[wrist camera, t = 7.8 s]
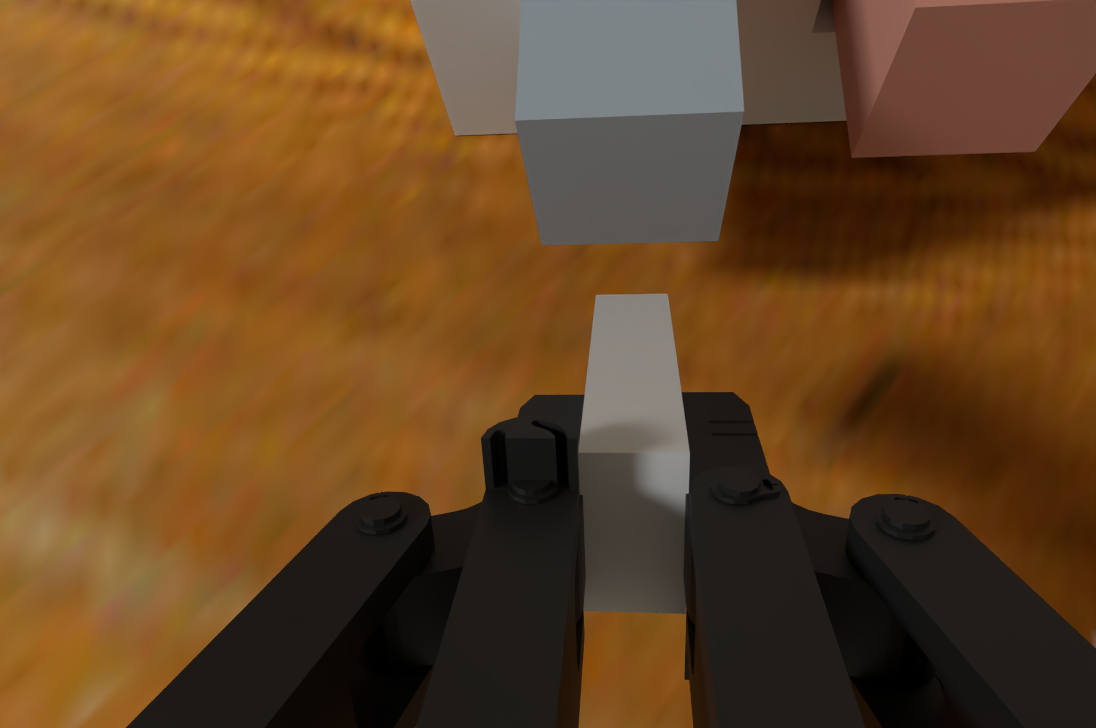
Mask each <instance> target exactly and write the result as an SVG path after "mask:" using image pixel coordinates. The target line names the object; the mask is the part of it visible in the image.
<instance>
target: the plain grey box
mask: <svg viewBox="0 0 1096 728" xmlns="http://www.w3.org/2000/svg"><path fill="white" fill-rule="evenodd" d="M410 1H411V4H412V8H413V11H414V14H415V17H416V20H417V23H418V26H419V29H420V32H421V35H422V38H423V41H424V44H425V47H426V50H427V53H428V56H429V59H430V62H431V65H432V68H433V71H434V74H435V77H436V80H437V83H438V86H439V89H440V92H441V95H442V98H443V101H444V104H445V107H446V110H447V113H448V116H449V119H450V122H451V125H452V128H453V131H454V134H455V136H459V135H485V134H511V133H517V128H516V124H515V109H516V91H517V73H518V55H519V37H520V19H521V0H410ZM736 3H737V17H738V31H739V45H740V59H741V73H742V87H743V101H744V115H743V120H742V125H747V124H773V123H799V122H826V121H847V120H846V112H845V104H844V96H843V88H842V80H841V73H840V65H839V57H838V49H837V41H836V33H835V26H834V18H833V10H832V2H831V0H736Z"/></svg>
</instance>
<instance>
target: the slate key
mask: <svg viewBox="0 0 1096 728" xmlns="http://www.w3.org/2000/svg"><path fill="white" fill-rule="evenodd" d="M743 115H744V101H743V87H742V73H741V59H740V45H739V31H738V17H737V3H736V0H521V19H520V37H519V55H518V73H517V91H516V109H515V124H516V128H517V133H518V138H519V142H520V147H521V152H522V156H523V161H524V165H525V170H526V175H527V179H528V184H529V189H530V193H531V198H532V203H533V207H534V212H535V217H536V221H537V226H538V231H539V235H540V240H541V245H573V244H616V243H660V242H703V241H719V236H720V231H721V226H722V221H723V216H724V211H725V206H726V201H727V196H728V191H729V186H730V180H731V175H732V170H733V165H734V160H735V155H736V150H737V145H738V140H739V135H740V130H741V125H742V120H743Z"/></svg>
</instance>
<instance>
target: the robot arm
mask: <svg viewBox="0 0 1096 728" xmlns="http://www.w3.org/2000/svg"><path fill="white" fill-rule="evenodd" d="M481 443H482V454H483V464H484V475H485V485H486V491H485V494H484V497H483V501H482V502H480V503H479V504H476V505H474V506H472V507H469V508H467V509H463V510H459V511H455V512H450V513H445V514H440V515H434V516H431V513H430V509H429V504H427V503H426V502H425V501H424V500H423V499H422V498H420V497H419V496H416V495H412V494H409V493H406V492H381V493H375V494H371V495H368V496H366V497H363V498H361V499H358V500H356V501H353V502H352V503H350V504H349V505H348V506H346V507H345V508H344V509H342V510H341V511H340V512H339V513H338V514H337V515H336V516H335V517H334V518H333V519H332V520H331V521H330V522H329V523H328V524H327V525H326V526H325V527H324V528H323V529H322V530H321V531H320V532H319V533H318V534H317V535H316V536H315V537H314V538H313V539H312V540H311V541H310V542H309V543H308V544H307V545H306V546H305V547H304V548H303V549H302V550H301V551H300V552H299V553H298V554H297V555H296V556H295V557H294V558H293V559H292V560H291V561H290V562H289V563H288V564H287V565H286V566H285V567H284V568H283V569H282V570H281V571H280V572H279V573H278V574H277V575H276V576H275V577H274V578H273V579H272V580H271V581H270V582H269V583H268V584H267V586H266V587H265V588H264V589H263V590H262V591H261V592H260V593H259V594H258V595H257V596H256V597H255V598H254V599H253V600H252V601H251V602H250V603H249V604H248V605H247V606H246V607H245V608H244V609H243V610H242V611H241V612H240V613H239V614H238V615H237V616H236V617H235V618H234V619H233V620H232V621H231V622H230V623H229V624H228V625H227V626H226V627H225V628H224V629H223V630H222V631H221V632H220V633H219V634H218V635H217V636H216V637H215V638H214V639H213V640H212V641H211V642H210V643H209V644H208V645H207V646H206V647H205V648H204V649H203V650H202V651H201V652H200V653H199V654H198V655H197V656H196V657H195V658H194V659H193V660H192V661H191V662H190V663H189V664H188V665H187V666H186V667H185V668H184V669H183V670H182V672H181V673H180V674H179V675H178V676H177V677H176V678H175V679H174V680H173V681H172V682H171V683H170V684H169V685H168V686H167V687H166V688H165V689H164V690H163V691H162V692H161V693H160V694H159V695H158V696H157V697H156V698H155V699H154V700H153V701H152V702H151V703H150V704H149V705H148V706H147V707H146V708H145V709H144V710H143V711H142V712H141V713H140V714H139V715H138V716H137V717H136V718H135V719H134V720H133V721H132V722H131V723H130V724H129V725H128V726H127V727H126V728H415V727H416V728H578V726H579V711H580V696H581V680H582V665H583V650H584V612H583V607H584V611H604V612H643V613H682V614H685V611H686V608H687V611H686V646H685V680H689V682H690V693H691V704H692V716H693V727H694V728H1096V648H1095V647H1093V646H1092V645H1091V644H1090V643H1089V642H1088V641H1087V640H1086V639H1085V638H1084V637H1083V636H1082V635H1081V634H1080V633H1078V632H1077V631H1076V630H1075V629H1074V628H1073V627H1072V626H1071V625H1070V624H1069V623H1068V622H1067V621H1066V620H1064V619H1063V618H1062V617H1061V616H1060V615H1059V614H1058V613H1057V612H1056V611H1055V610H1054V609H1053V608H1052V607H1051V606H1049V605H1048V604H1047V603H1046V602H1045V601H1044V600H1043V599H1042V598H1041V597H1040V596H1039V595H1038V594H1037V593H1035V592H1034V591H1033V590H1032V589H1031V588H1030V587H1029V586H1028V585H1027V584H1026V583H1025V582H1024V581H1023V580H1022V579H1020V578H1019V577H1018V576H1017V575H1016V574H1015V573H1014V572H1013V571H1012V570H1011V569H1010V568H1009V567H1008V566H1006V565H1005V564H1004V563H1003V562H1002V561H1001V560H1000V559H999V558H998V557H997V556H996V555H995V554H994V553H993V552H991V551H990V550H989V549H988V548H987V547H986V546H985V545H984V544H983V543H982V542H981V541H980V540H979V539H977V538H976V537H975V536H974V535H973V534H972V533H971V532H970V531H969V530H968V529H967V528H966V527H965V526H963V525H962V524H961V523H960V522H959V521H958V520H957V519H956V518H955V517H954V516H952V515H951V514H950V513H948V512H947V511H945V510H944V509H942V508H941V507H939V506H938V505H935V504H932V503H930V502H927V501H925V500H922V499H920V498H917V497H913V496H905V495H901V494H877V495H874V496H870V497H866V498H863V499H861V500H860V501H858V502H857V503H856V504H855V505H853V506H852V508H851V513H850V517H849V519H846V518H841V517H836V516H831V515H826V514H822V513H818V512H814V511H811V510H807V509H805V508H803V507H800V506H798V505H796V504H794V503H792V502H791V499H790V496H789V493H788V491H787V489H786V488H785V486H784V485H783V484H782V482H781V481H780V480H778V479H776V478H775V477H773V476H772V475H770V473H769V469H768V466H767V463H766V460H765V456H764V453H763V450H762V447H761V443H760V440H759V437H758V436H757V430H756V427H755V424H754V420H753V417H752V414H751V411H750V407H749V405H748V404H746V403H745V402H744V401H743V400H742V399H740V398H739V397H738V396H737V395H736V394H734V393H733V392H681V386H680V379H679V372H678V364H677V357H676V350H675V343H674V336H673V329H672V321H671V314H670V307H669V300H668V294H618V295H596V300H595V308H594V317H593V326H592V335H591V344H590V352H589V361H588V370H587V379H586V387H585V395H534V396H533V397H532V398H531V399H530V400H529V401H528V402H526V403H525V404H524V405H523V406H522V407H521V408H520V411H519V414H518V417H517V418H513V419H509V420H506V421H503V422H499V423H498V424H496V425H494V426H493V427H491V428H489V429H488V430H487V431H486V432H485V434H484V435H483V436H482V438H481ZM416 725H417V726H416Z"/></svg>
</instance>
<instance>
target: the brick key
mask: <svg viewBox="0 0 1096 728" xmlns="http://www.w3.org/2000/svg"><path fill="white" fill-rule="evenodd" d="M831 2H832V10H833V18H834V26H835V33H836V41H837V49H838V57H839V65H840V73H841V80H842V88H843V96H844V104H845V112H846V120H847V128H848V135H849V143H850V151H851V158H861V157H891V156H921V155H951V154H981V153H1011V152H1035V151H1036V150H1037V149H1038V147H1039V146H1040V145H1041V144H1042V142H1043V141H1044V140H1045V138H1046V137H1047V136H1048V135H1049V133H1050V132H1051V131H1052V129H1053V128H1054V127H1055V126H1056V124H1057V123H1058V122H1059V120H1060V119H1061V118H1062V117H1063V115H1064V114H1065V113H1066V111H1067V110H1068V109H1069V108H1070V106H1071V105H1072V104H1073V102H1074V101H1075V100H1076V98H1077V97H1078V96H1079V95H1080V93H1081V92H1082V91H1083V89H1084V88H1085V87H1086V86H1087V84H1088V83H1089V82H1090V80H1091V79H1092V78H1093V77H1094V75H1095V74H1096V0H831Z"/></svg>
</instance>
